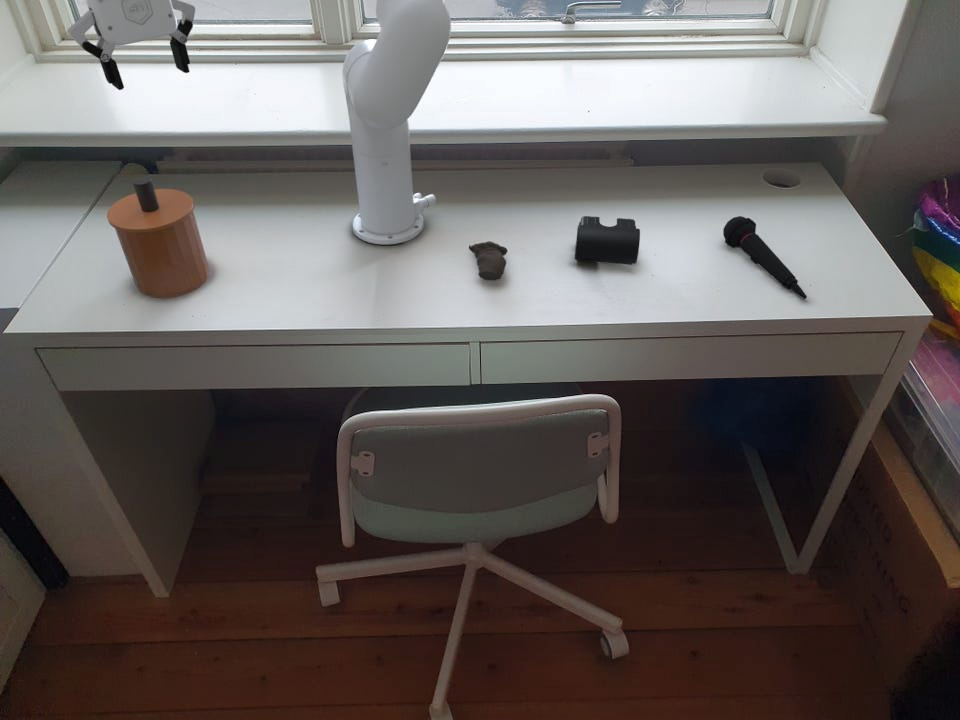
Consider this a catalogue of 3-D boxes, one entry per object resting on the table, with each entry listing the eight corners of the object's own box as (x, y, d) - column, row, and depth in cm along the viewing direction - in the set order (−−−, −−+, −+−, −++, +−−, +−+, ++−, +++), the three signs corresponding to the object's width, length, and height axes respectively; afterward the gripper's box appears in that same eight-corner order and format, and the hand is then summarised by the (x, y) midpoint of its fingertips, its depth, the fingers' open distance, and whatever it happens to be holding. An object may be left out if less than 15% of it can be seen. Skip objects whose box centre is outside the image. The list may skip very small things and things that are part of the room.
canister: (192, 250, 126) (173, 186, 118) (221, 280, 119) (203, 214, 111) (125, 274, 120) (101, 208, 112) (152, 306, 114) (128, 239, 106)
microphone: (805, 311, 118) (732, 237, 130) (827, 283, 115) (750, 210, 127) (783, 311, 115) (710, 235, 128) (805, 282, 112) (728, 207, 124)
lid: (176, 187, 119) (166, 154, 115) (208, 218, 112) (199, 183, 108) (97, 212, 113) (84, 177, 109) (126, 245, 106) (113, 209, 102)
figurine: (469, 255, 126) (470, 291, 117) (468, 231, 124) (469, 266, 114) (506, 253, 126) (510, 289, 117) (506, 229, 124) (510, 264, 114)
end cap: (573, 269, 122) (577, 234, 117) (574, 247, 127) (578, 212, 123) (634, 274, 121) (640, 238, 116) (633, 251, 126) (639, 216, 122)
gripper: (51, -38, 89) (100, 101, 100) (187, -60, 97) (218, 71, 108) (32, -49, 93) (81, 86, 104) (164, -69, 102) (196, 58, 113)
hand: (151, 78), depth 106 cm, fingers open, 9 cm apart
